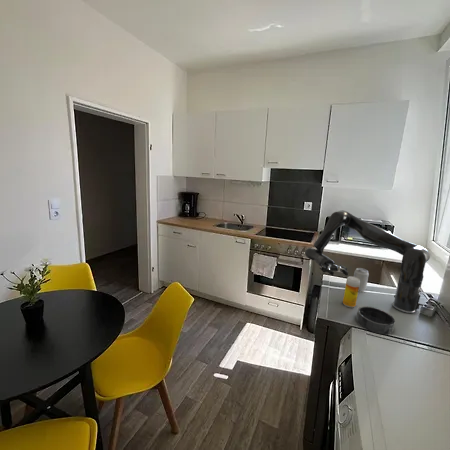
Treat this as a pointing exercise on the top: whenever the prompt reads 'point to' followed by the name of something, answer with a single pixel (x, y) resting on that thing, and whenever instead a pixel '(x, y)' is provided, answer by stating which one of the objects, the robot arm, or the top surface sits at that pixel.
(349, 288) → the beer can
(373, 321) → the dark grey bowl
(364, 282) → the can
